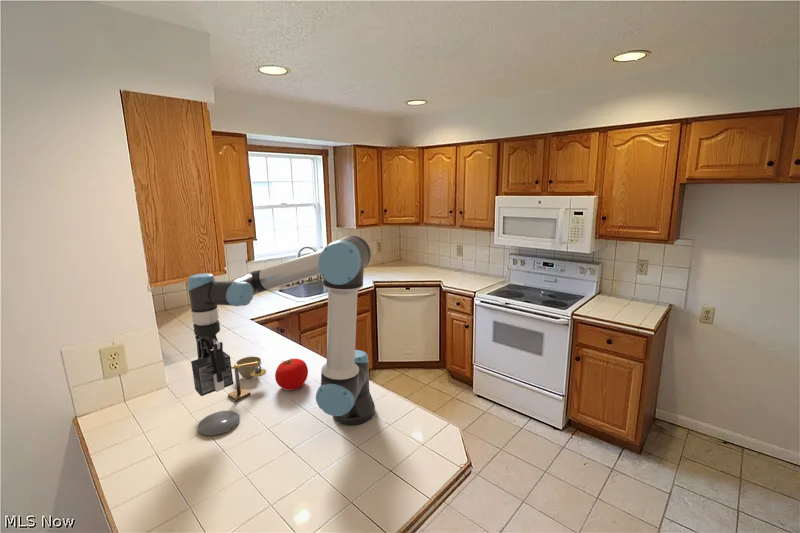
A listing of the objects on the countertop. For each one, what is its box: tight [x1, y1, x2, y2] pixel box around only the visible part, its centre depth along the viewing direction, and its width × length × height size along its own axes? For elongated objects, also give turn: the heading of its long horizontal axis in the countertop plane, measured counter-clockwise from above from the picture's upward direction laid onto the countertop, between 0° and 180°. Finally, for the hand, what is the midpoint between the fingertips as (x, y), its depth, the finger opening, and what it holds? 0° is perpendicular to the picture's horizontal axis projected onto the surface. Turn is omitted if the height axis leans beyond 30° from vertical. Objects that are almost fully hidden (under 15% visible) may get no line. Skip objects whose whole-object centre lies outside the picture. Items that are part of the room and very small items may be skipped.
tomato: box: [274, 357, 309, 391], centre depth 154 cm, size 12×14×11 cm
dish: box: [197, 410, 241, 437], centre depth 130 cm, size 13×13×1 cm
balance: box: [227, 362, 267, 403], centre depth 147 cm, size 6×24×15 cm, turn 142°
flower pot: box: [235, 356, 262, 381], centre depth 163 cm, size 10×10×7 cm
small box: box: [190, 351, 235, 397], centre depth 126 cm, size 11×6×10 cm, turn 135°
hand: (214, 386), depth 127 cm, fingers closed on small box, 7 cm apart
